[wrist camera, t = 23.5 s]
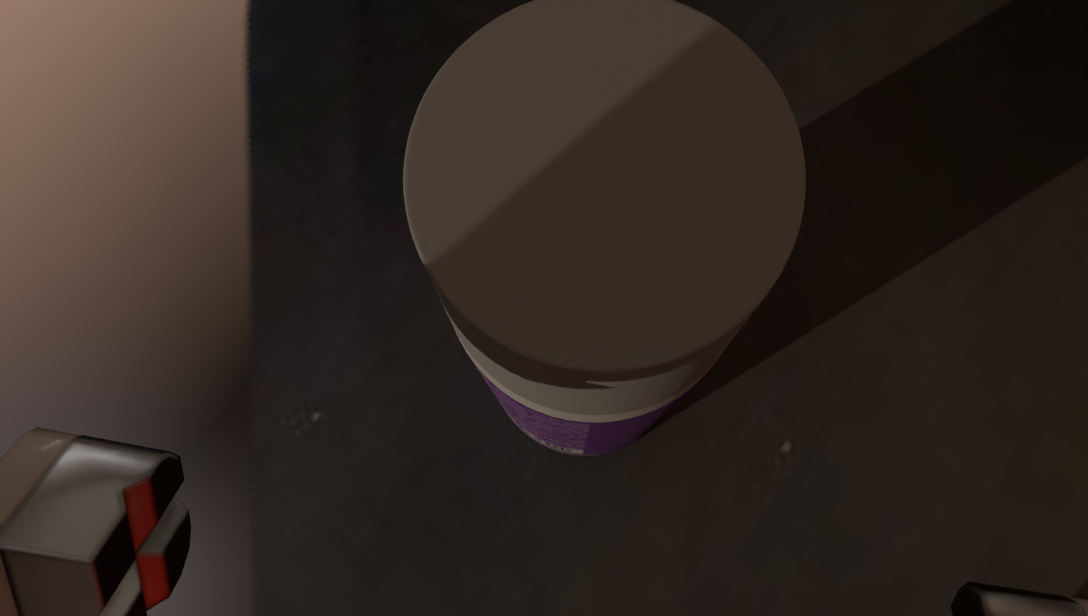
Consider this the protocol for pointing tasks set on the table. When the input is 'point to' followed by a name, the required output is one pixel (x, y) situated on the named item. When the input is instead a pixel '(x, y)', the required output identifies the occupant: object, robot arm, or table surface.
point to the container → (601, 207)
